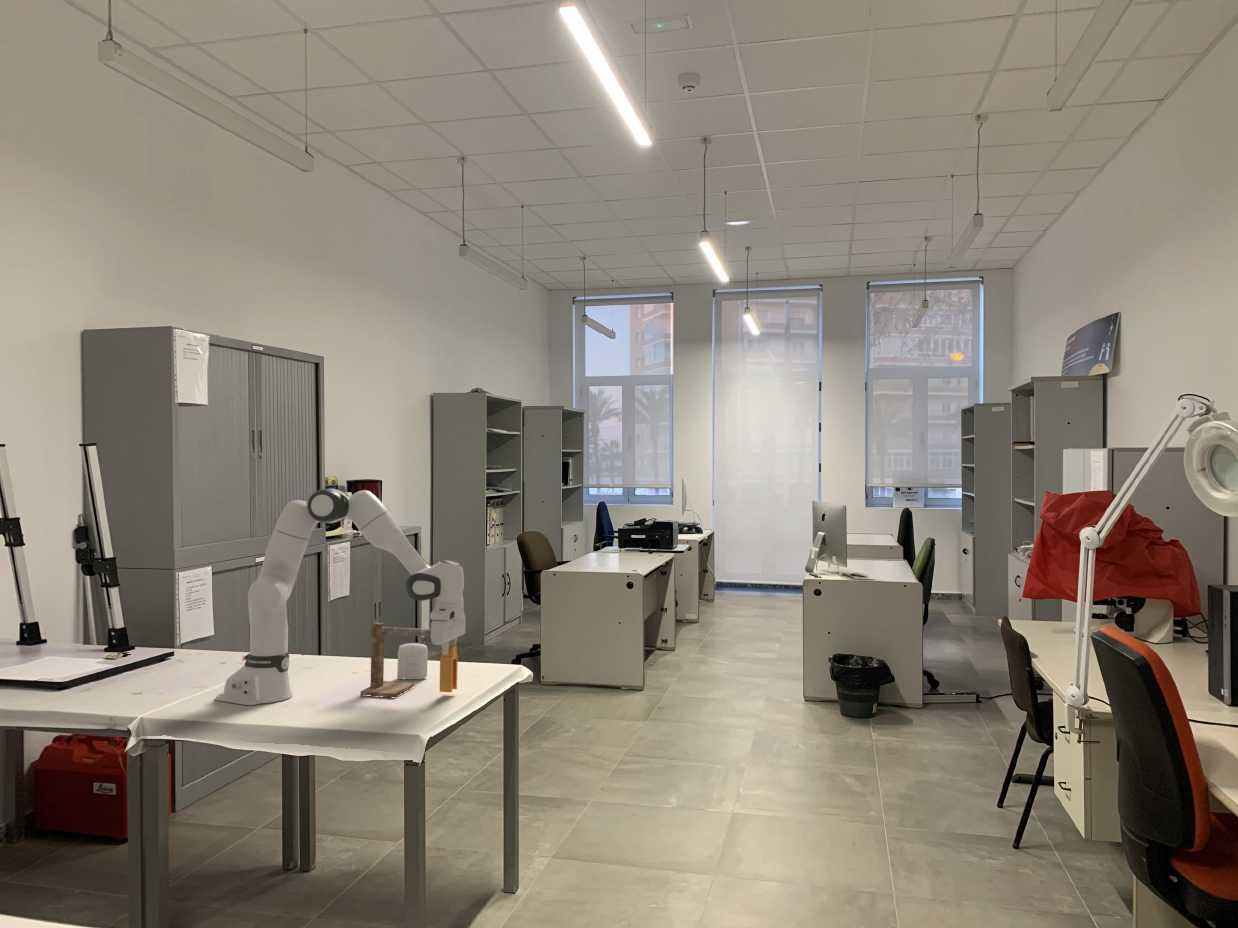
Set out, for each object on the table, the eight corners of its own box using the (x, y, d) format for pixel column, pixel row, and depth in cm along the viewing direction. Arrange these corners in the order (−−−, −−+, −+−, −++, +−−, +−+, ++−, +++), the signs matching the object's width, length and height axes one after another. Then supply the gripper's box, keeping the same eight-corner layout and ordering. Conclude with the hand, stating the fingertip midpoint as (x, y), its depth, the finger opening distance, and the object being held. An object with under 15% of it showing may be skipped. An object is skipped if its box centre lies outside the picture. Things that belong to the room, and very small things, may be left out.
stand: (360, 695, 257) (361, 626, 257) (381, 685, 271) (382, 619, 271) (425, 700, 253) (427, 630, 253) (443, 689, 266) (445, 622, 267)
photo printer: (427, 676, 283) (428, 641, 284) (426, 679, 279) (427, 644, 279) (398, 677, 282) (398, 642, 282) (396, 680, 278) (397, 644, 278)
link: (439, 691, 257) (440, 647, 257) (445, 687, 262) (446, 644, 262) (451, 692, 256) (452, 647, 256) (457, 688, 261) (457, 644, 261)
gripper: (453, 605, 270) (452, 646, 270) (427, 615, 250) (426, 659, 250) (470, 606, 269) (470, 647, 269) (446, 616, 249) (445, 660, 249)
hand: (448, 653), depth 259 cm, fingers closed on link, 3 cm apart
